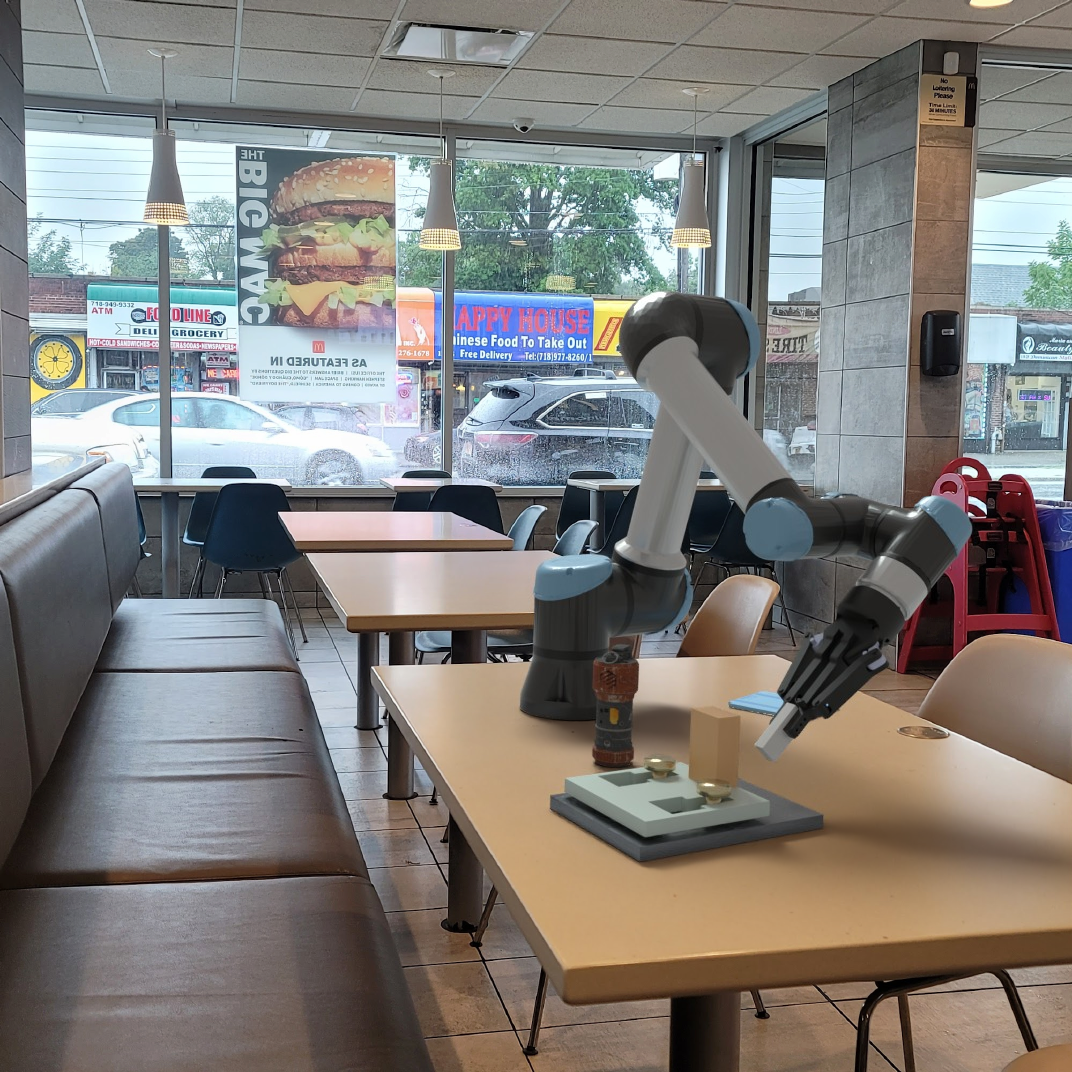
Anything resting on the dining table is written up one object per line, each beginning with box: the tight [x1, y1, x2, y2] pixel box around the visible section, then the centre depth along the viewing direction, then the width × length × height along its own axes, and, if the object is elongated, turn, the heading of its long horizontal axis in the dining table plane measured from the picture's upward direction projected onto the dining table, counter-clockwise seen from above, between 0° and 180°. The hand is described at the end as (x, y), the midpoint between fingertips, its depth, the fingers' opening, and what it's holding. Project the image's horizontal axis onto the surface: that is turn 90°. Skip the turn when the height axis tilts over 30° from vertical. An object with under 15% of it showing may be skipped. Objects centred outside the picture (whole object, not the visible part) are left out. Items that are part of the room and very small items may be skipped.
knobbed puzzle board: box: [563, 705, 770, 837], centre depth 126 cm, size 16×16×10 cm
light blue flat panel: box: [727, 690, 828, 715], centre depth 182 cm, size 14×12×1 cm
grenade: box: [591, 643, 640, 768], centre depth 149 cm, size 6×8×15 cm
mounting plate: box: [549, 754, 824, 863], centre depth 127 cm, size 18×24×5 cm
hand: (764, 753), depth 133 cm, fingers closed
